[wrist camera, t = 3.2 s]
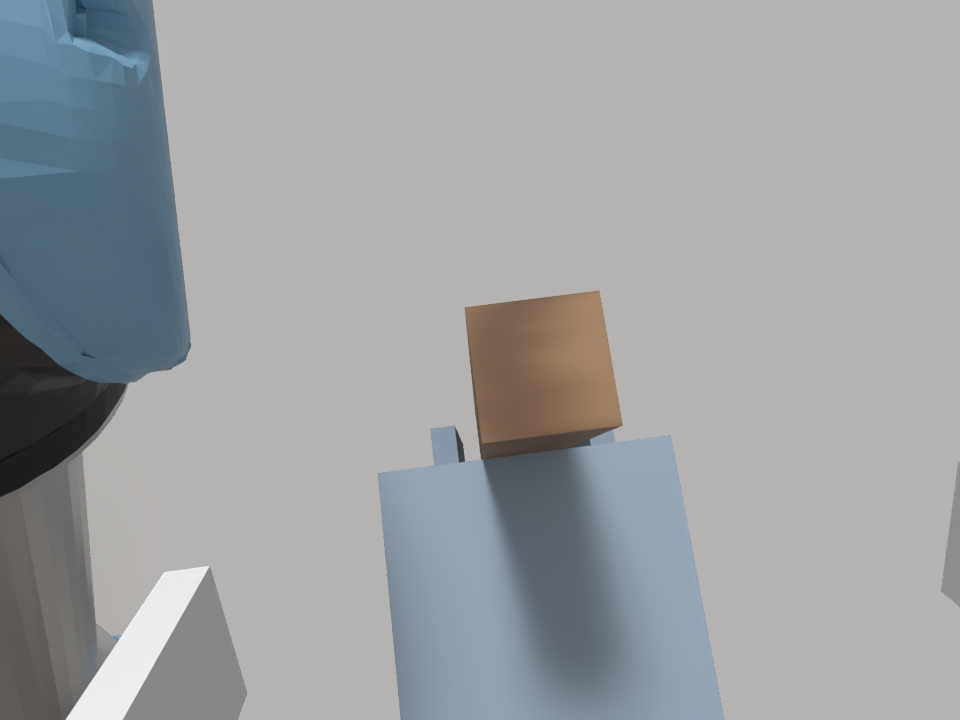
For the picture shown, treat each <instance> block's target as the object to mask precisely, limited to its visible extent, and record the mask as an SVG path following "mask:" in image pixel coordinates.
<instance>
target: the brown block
mask: <svg viewBox="0 0 960 720" xmlns="http://www.w3.org/2000/svg"><path fill="white" fill-rule="evenodd" d="M465 314H466V325H467V333H468V345H469V355H470V365H471V374H472V384H473V394H474V404H475V414H476V421H477V430H478V437H479V445H480V453H481V460H483V459H491V458H499V457H506V456H514V455H522V454H529V453H537V452H545V451H553V450H560V449H568V448H570V447H573V446H575V445H577V444H580V443H582V442H584V441H587V440H589V439H592V438H594V437H596V436H599V435H601V434H603V433H606V432H608V431H611V430H613V429H615V428H618V427H620V426H622V419H621V413H620V407H619V401H618V396H617V390H616V384H615V379H614V373H613V367H612V361H611V355H610V349H609V344H608V338H607V332H606V326H605V321H604V315H603V309H602V303H601V298H600V292H599V291H593V292H585V293H577V294H570V295H561V296H553V297H545V298H536V299H528V300H521V301H512V302H505V303H496V304H489V305H480V306H473V307H465Z"/></svg>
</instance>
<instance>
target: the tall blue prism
mask: <svg viewBox="0 0 960 720" xmlns="http://www.w3.org/2000/svg"><path fill="white" fill-rule="evenodd" d="M431 439H432V447H433V457H434V466H429V467H421V468H413V469H406V470H398V471H390V472H383V473H378V481H379V491H380V502H381V512H382V524H383V534H384V545H385V556H386V565H387V577H388V588H389V598H390V609H391V620H392V631H393V641H394V652H395V663H396V673H397V684H398V695H399V706H400V716H401V720H724V714H723V709H722V704H721V699H720V693H719V688H718V683H717V677H716V672H715V667H714V661H713V656H712V651H711V646H710V640H709V635H708V630H707V625H706V619H705V614H704V609H703V604H702V598H701V593H700V587H699V582H698V576H697V571H696V566H695V561H694V555H693V550H692V545H691V540H690V534H689V529H688V523H687V518H686V513H685V507H684V503H683V497H682V492H681V486H680V481H679V476H678V470H677V465H676V460H675V454H674V449H673V444H672V438H671V435H668V436H661V437H653V438H645V439H638V440H630V441H622V442H615V438H614V432H613V430H611V431H608V432H606V433H603V434H601V435H599V436H596V437H594V438H592V439H589V440H587V441H584V442H582V443H580V444H577V445H575V446H573V447H570V448H568V449H560V450H553V451H545V452H537V453H529V454H522V455H514V456H506V457H499V458H491V459H483V460H475V461H468V462H465V459H464V449H463V443H462V442H461V439H460V437H459V434H458V432H457V430H456V428H455V426H449V427H442V428H433V429H431Z"/></svg>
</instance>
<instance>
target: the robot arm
mask: <svg viewBox="0 0 960 720" xmlns="http://www.w3.org/2000/svg"><path fill="white" fill-rule="evenodd" d="M166 127H167V126H166V119H165V109H164V100H163V91H162V82H161V73H160V64H159V56H158V47H157V37H156V29H155V20H154V11H153V2H152V0H0V720H238V717H239V714H240V712H241V709H242V706H243V703H244V701H245V697H246V695H247V690H246V687H245V684H244V680H243V677H242V674H241V670H240V667H239V664H238V660H237V657H236V653H235V650H234V647H233V643H232V640H231V636H230V633H229V629H228V626H227V623H226V619H225V616H224V612H223V609H222V606H221V602H220V599H219V595H218V592H217V589H216V585H215V582H214V578H213V575H212V572H211V568H210V566H205V567H198V568H191V569H184V570H177V571H170V572H164V574H163V575H162V577H161V578H160V580H159V581H158V582H157V584H156V586H155V587H154V588H153V590H152V591H151V593H150V594H149V596H148V597H147V599H146V600H145V602H144V603H143V605H142V606H141V608H140V609H139V611H138V613H137V614H136V615H135V617H134V618H133V620H132V621H131V623H130V624H129V626H128V627H127V629H126V630H125V632H124V633H123V635H122V636H121V635H115V636H111V635H110V634H109V633H108V632H106V631H105V630H104V629H103V628H102V627H100V626H99V625H97V624H96V620H95V608H94V595H93V584H92V570H91V557H90V546H89V532H88V520H87V507H86V494H85V482H84V469H83V457H82V452H83V451H84V450H85V449H86V448H87V447H88V446H89V445H90V444H91V443H92V442H93V441H94V440H95V439H96V438H97V437H98V436H99V435H100V433H101V432H102V431H103V430H104V428H105V427H106V426H107V424H108V423H109V422H110V421H111V419H112V418H113V416H114V414H115V413H116V411H117V409H118V408H119V406H120V404H121V403H122V401H123V398H124V395H125V392H126V390H127V387H128V384H129V382H136V381H138V380H139V379H141V378H142V377H143V376H145V375H146V374H148V373H150V372H156V371H163V370H170V369H172V368H173V367H175V366H176V365H178V364H180V363H182V362H184V361H185V360H186V357H187V354H188V352H189V350H190V347H191V343H190V329H189V321H188V312H187V301H186V293H185V285H184V274H183V266H182V257H181V248H180V240H179V233H178V223H177V214H176V205H175V195H174V186H173V179H172V171H171V162H170V155H169V145H168V135H167V128H166ZM941 591H942V592H943V593H944V594H945V595H946V596H947V597H949V598H950V599H951V600H952V601H954V602H955V603H956V604H957V605H958V606H959V607H960V461H958V469H957V477H956V484H955V491H954V499H953V507H952V513H951V521H950V528H949V536H948V543H947V551H946V558H945V566H944V573H943V580H942V588H941Z"/></svg>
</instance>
